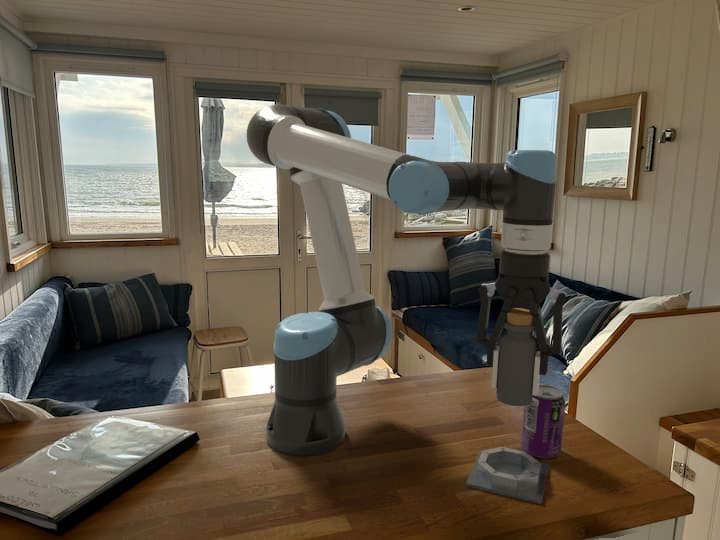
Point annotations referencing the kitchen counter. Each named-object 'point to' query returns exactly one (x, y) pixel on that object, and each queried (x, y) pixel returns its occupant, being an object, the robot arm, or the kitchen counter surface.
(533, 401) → the beverage can
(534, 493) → the ring seat
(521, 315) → the bottle
